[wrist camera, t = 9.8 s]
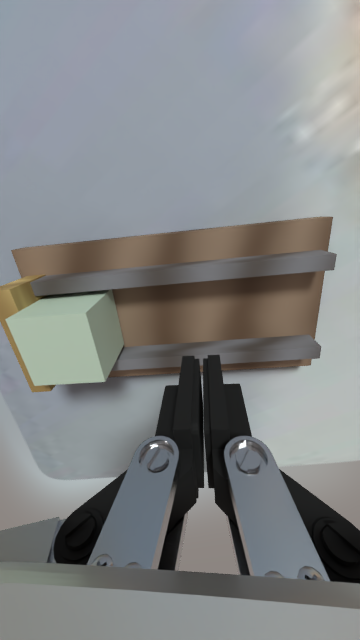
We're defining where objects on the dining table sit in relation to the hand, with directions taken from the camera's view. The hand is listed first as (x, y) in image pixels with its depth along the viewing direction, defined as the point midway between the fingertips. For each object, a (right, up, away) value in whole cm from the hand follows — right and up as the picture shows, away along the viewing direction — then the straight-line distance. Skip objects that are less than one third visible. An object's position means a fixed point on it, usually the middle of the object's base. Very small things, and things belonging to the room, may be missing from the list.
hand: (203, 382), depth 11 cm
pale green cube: (-9, +3, +9) cm, 13 cm away
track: (-2, +4, +10) cm, 11 cm away
